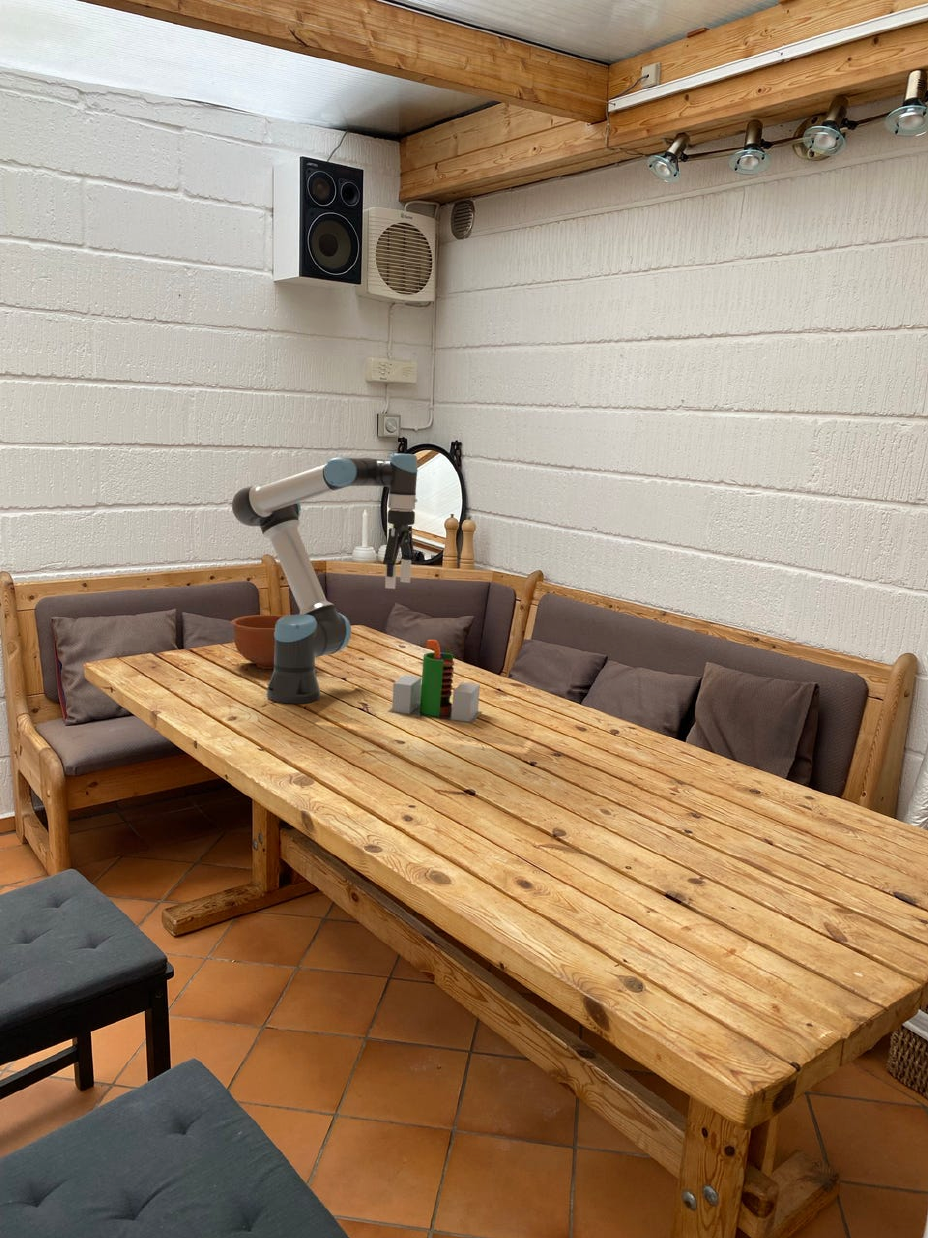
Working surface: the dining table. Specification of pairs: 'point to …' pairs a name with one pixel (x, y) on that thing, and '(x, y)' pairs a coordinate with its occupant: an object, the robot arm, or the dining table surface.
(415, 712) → the rail plate
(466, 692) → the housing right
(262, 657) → the bowl
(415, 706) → the block
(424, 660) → the motor
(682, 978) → the dining table surface
